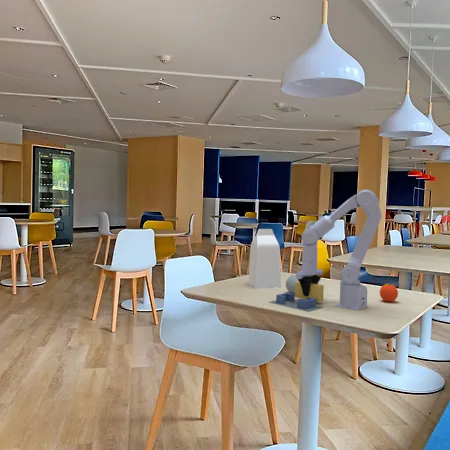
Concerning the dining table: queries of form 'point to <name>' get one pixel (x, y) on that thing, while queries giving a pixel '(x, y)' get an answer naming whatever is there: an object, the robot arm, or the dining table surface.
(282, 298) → the end cap
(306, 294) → the robot arm
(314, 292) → the slat
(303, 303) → the end cap
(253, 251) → the milk
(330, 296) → the dining table surface
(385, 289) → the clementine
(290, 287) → the ceramic mug
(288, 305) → the mat
